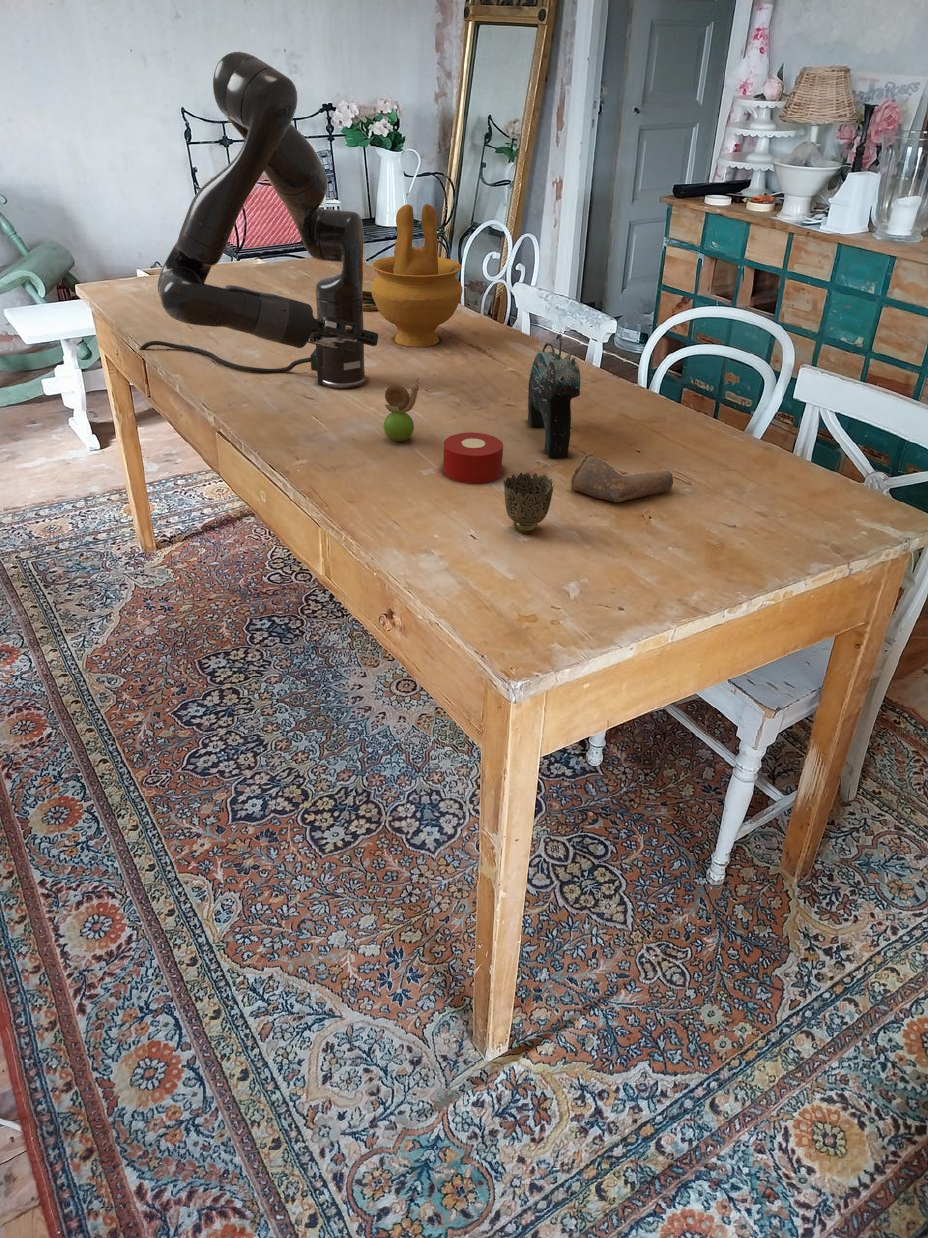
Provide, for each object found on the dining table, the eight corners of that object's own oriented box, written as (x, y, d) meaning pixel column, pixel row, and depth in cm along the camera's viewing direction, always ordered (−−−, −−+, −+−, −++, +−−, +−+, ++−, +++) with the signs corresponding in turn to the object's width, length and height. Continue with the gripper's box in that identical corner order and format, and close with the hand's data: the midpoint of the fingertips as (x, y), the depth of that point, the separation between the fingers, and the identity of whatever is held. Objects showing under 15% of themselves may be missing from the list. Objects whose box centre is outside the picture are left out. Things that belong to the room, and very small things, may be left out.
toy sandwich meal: (336, 307, 242) (335, 289, 239) (358, 295, 252) (358, 277, 250) (380, 313, 238) (380, 294, 236) (401, 301, 249) (401, 283, 246)
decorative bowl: (445, 324, 232) (448, 193, 216) (473, 350, 216) (478, 210, 199) (362, 329, 226) (359, 195, 210) (384, 356, 210) (382, 213, 193)
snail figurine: (414, 448, 167) (415, 382, 160) (380, 444, 168) (379, 379, 161) (422, 436, 172) (422, 372, 165) (388, 433, 173) (387, 369, 166)
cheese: (439, 481, 156) (440, 452, 153) (446, 457, 164) (447, 429, 161) (499, 485, 155) (501, 456, 152) (503, 461, 164) (505, 433, 161)
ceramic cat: (576, 461, 165) (587, 348, 154) (540, 462, 164) (549, 349, 153) (549, 419, 181) (558, 314, 170) (516, 420, 180) (523, 315, 169)
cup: (498, 518, 145) (501, 471, 141) (545, 518, 146) (549, 470, 141) (504, 541, 139) (507, 492, 135) (553, 541, 140) (557, 492, 135)
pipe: (685, 468, 152) (648, 437, 158) (602, 486, 144) (567, 453, 151) (674, 501, 156) (639, 469, 162) (594, 520, 149) (560, 486, 155)
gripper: (296, 290, 152) (386, 316, 160) (270, 303, 164) (355, 327, 172) (290, 336, 153) (380, 360, 160) (264, 346, 165) (349, 368, 173)
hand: (367, 343), depth 166 cm, fingers open, 8 cm apart
